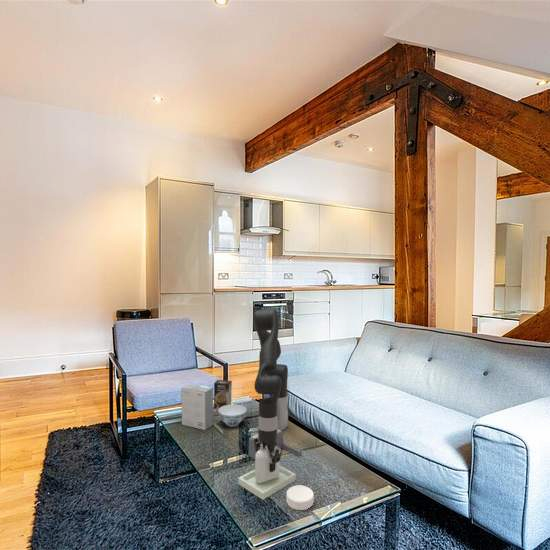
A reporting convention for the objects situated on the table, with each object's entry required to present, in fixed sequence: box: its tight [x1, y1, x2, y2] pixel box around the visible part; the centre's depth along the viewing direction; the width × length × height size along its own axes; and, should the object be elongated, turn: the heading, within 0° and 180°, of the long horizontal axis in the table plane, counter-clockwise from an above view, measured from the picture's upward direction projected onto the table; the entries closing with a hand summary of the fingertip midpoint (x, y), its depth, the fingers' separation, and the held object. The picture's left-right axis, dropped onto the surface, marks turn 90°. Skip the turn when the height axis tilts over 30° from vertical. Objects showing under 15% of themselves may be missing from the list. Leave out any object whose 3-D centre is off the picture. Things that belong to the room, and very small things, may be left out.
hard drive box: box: [181, 383, 214, 431], centre depth 201 cm, size 16×8×20 cm, turn 65°
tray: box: [237, 465, 297, 501], centre depth 150 cm, size 18×14×2 cm
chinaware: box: [217, 403, 248, 427], centre depth 203 cm, size 15×15×8 cm
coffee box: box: [213, 379, 233, 411], centre depth 223 cm, size 9×6×16 cm
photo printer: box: [254, 448, 281, 483], centre depth 150 cm, size 10×4×12 cm, turn 124°
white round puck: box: [285, 484, 315, 511], centre depth 138 cm, size 10×10×4 cm
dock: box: [248, 429, 302, 460], centre depth 170 cm, size 18×16×9 cm
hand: (267, 468), depth 150 cm, fingers closed on photo printer, 4 cm apart
